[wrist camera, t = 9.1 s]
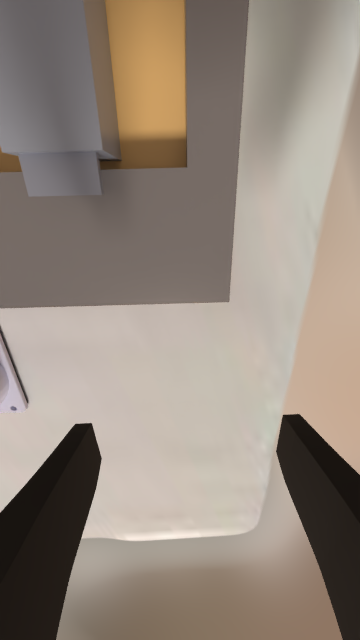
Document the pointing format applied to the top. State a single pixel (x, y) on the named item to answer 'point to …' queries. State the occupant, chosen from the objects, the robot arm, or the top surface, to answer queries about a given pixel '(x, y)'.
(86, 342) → the top surface
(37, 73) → the block
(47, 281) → the plate
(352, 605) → the robot arm
